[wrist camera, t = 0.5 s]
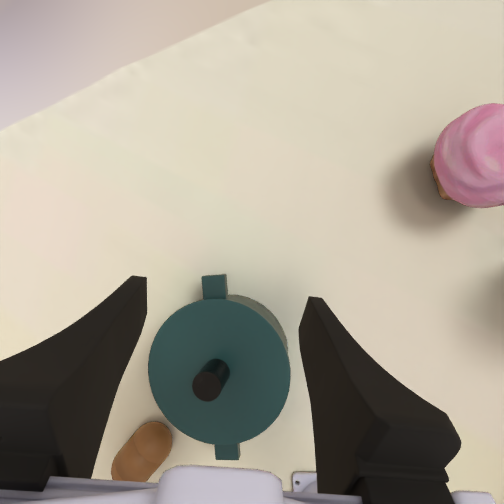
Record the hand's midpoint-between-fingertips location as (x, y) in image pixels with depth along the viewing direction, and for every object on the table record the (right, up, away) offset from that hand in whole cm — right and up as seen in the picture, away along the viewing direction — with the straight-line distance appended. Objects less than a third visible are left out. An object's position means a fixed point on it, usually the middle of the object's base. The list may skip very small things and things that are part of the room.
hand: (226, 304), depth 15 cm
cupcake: (+23, +11, +21) cm, 33 cm away
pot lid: (-2, -9, +18) cm, 20 cm away
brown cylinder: (-11, -21, +26) cm, 35 cm away
